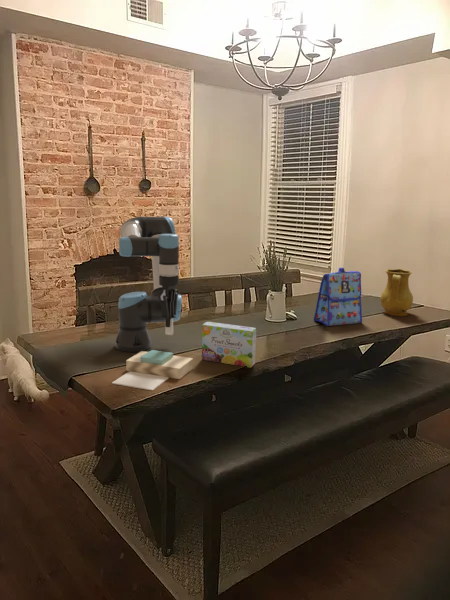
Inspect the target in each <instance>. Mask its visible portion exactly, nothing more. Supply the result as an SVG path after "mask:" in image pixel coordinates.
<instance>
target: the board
mask: <svg viewBox="0 0 450 600" xmlns="http://www.w3.org/2000/svg"><path fill="white" fill-rule="evenodd" d="M148 352H149V351H146V350H143V351H138V352H137V353H136V354H134V355H133V356H131V357H129V358H128V359H126V360H125V363H126V365H125V367H126V369H125V370H126V372H129V371H132V372H138V373H144V374H150V375H156V376H163V377H169V378H171V379H177V380H180V379H182V378H183V377H184V376H185V375H187V374H188V373H189V372H191V371H192V370H193V369H194V358H193V357H188V356H187V357H185V356H180V355H174V354H173V358H171V359H170V360H169V361H167V362H166V363H164V364H163V365H159V364H153V363H146V362H140V357H141V356H143V355H144V354H146V353H148Z"/></svg>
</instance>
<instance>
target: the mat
mask: <svg viewBox="0 0 450 600" xmlns="http://www.w3.org/2000/svg"><path fill="white" fill-rule="evenodd" d="M168 380H169V377H163V376H157V375H151V374H145V373H138V372H132V371H127V372H126V373H124V374H123V375H122V376H120V377H118V378H116V380H114V381H112V382H111V384H112V385H118V386H124V387H130V388H135V389H142V390H147V391H154V390H156V389H157V388H159V386H161V385H162V384H164V383H165V382H166V381H168Z"/></svg>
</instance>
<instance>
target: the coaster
mask: <svg viewBox="0 0 450 600" xmlns="http://www.w3.org/2000/svg"><path fill="white" fill-rule="evenodd" d="M147 352H148V353H146V354H144V355H143V356H141V357H140V362H146V363H153V364H159V365H163V364H164V363H166V362H167V361H169V360H170V359H171V358H173V355H174V352H170V351H164V350H163V351H162V350H155V349H151V350H150V351H147Z"/></svg>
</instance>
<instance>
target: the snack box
mask: <svg viewBox="0 0 450 600" xmlns="http://www.w3.org/2000/svg"><path fill="white" fill-rule="evenodd" d="M256 347H257V328H256V327H251V326H246V325H245V326H244V325H237V324H236V325H235V324H231V323H230V324H229V323H222V322H214V321H206V322H204V323H203V324H201V360H202V361H208V362H215V363H221V364H227V365H233V366H238V365H241V366H240V367H244V366H247V367H246V368H252V367H254V365H255V364H256V351H257V348H256Z"/></svg>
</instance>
